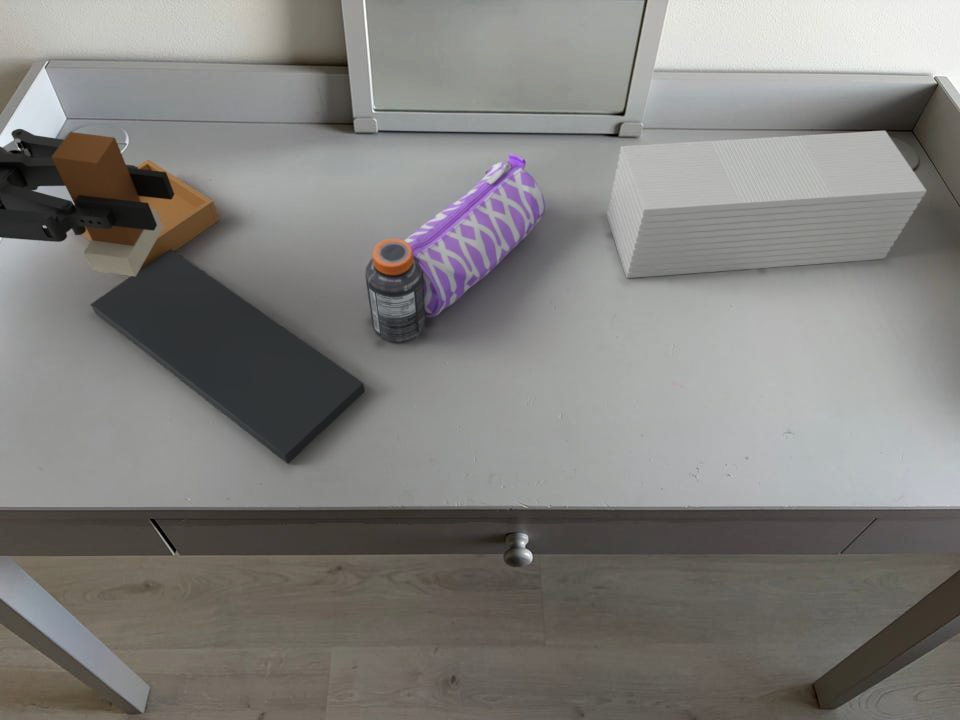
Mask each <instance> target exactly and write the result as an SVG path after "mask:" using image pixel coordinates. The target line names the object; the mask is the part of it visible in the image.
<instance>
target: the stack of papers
mask: <svg viewBox="0 0 960 720" xmlns="http://www.w3.org/2000/svg"><path fill="white" fill-rule="evenodd" d="M616 165H617V166H616V170H615V173H614V174H615V175H614V180H613V184H612V185H613V186H612V188H611V194H610V199H609V204H608V207H607V208H608V209H607V213H606V218H607V221H608V223H609V228H610V230H611V233H612V237H613V241H614V243H615V246H616V249H617V253H618V256H619V260H620V261H621V265H622V269H623V272H624V274H625V275H624V276H625V278H626V279H633V278H647V277H649V278H650V277H661V276H672V275H673V276H675V275H688V274H701V273H702V274H703V273H714V272H715V273H716V272H728V271H742V270H755V269H766V268H767V269H768V268H781V267H794V266H795V267H796V266H805V265H807V266H808V265H820V264H821V265H822V264H833V263H834V264H836V263H847V262H848V263H849V262H860V261H861V262H862V261H875V260H884V259H886V257H887V255H888V253H889V252H890V250H891V249H892V248H891V247H893V246H894V244H895V242H896V241H897V239H898V238H899V236H900V234H901V233H902V231H903V229H904V228H905V226H906V223H908V222H909V220H910V217H912V215H913V213H914V212H915V210H916V209H917V208H918V204H920V202H921V201H922V200H923V197H924V196H925V195H926V193H927V189H926V187H925V186H924V185H923V183H922V182H921V180H920V179H919V177H918V176H917V174H916V173H915V171H914V170H913V168H912V167H911V166H910V164H909V163H908V162H907V160H906V158H905V157H904V156H903V154H902V152H901V151H900V149H899V148H898V147H897V145H896V144H895V142H894V141H893V139H892V137H891V136H890V135H889V134H888V132H887V130H872V131H870V130H869V131H855V132H838V133H821V134H805V135H788V136H787V135H786V136H772V137H771V136H769V137H754V138H753V137H752V138H737V139H722V140H720V139H719V140H718V139H717V140H704V141H688V142H686V141H684V142H668V143H652V144H636V145H635V144H634V145H621V146H620V149H619V154H618V160H617V164H616Z"/></svg>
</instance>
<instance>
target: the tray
mask: <svg viewBox="0 0 960 720" xmlns="http://www.w3.org/2000/svg"><path fill="white" fill-rule="evenodd" d="M136 167H138V169H143V170H152V171H161V172H166V173H167V176H168V178H169V181H170V184H171V187H172V189H173V192H174V196H173V198H172V200H170V199H162V198H153V197H144V196H139V199H140V201H141V202H145V203H148V204H149V207H150V209H154V210H157V213H158V215H159V218H160V221H161V223H162V226H163V229H162V231H161V233H160V235H159V236H158V238H157V240H156V242H155V243H154V245H153V247H152V249H151V250H150V252H149V254H148V256H147V258H146V259H145V261H144V263H143V265H142V266H141V268H140V270H141V269H142V268H144V267H145V266H147V265H148V264H150V263H151V262H152V261H154V260H155V259H157V258H158V257H160V256H161V255H163V254H164V253H166V252H167V251H168V250H170V249H172V250H173V251H175V252H176V251H177V250H179V249H180V248H181V247H183V246H184V245H186V244H187V243H189V242H190V241H192V240H193V239H194V238H196V237H197V236H199V235H200V234H202V233H203V232H205V231H206V230H207V229H209V228H210V227H212V226H213V225H215V224H216V223H218V222H219V221H220V217H219V215H218V212H217V209H216V205H215V202H214V200H212V199H211V198H209V197H207V196H206V195H204V194H203V193H201V192H200V191H198V190H196V189H195V188H193V187H192V186H191V185H189V184H187V183H186V182H184V181H183V180H181V179H179V178H178V177H177V176H175V175H173V174H172V173H171V172H168V171H167V170H166V169H164V168H163V167H162V166H159V165H158V164H156V163H155V162H153V161H151V160H150V159H146V160H145V161H144V162H142V163H140V164H138V165H137V166H136ZM85 228H86V227H85ZM80 236H81V237H83V238H84V239H86V240H87V241H88V242H91V241H92V239H91V237H90V235H89V233H88V230H87V228H86V231H85V233H83V234H81V235H80Z"/></svg>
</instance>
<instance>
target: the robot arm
mask: <svg viewBox="0 0 960 720" xmlns="http://www.w3.org/2000/svg"><path fill="white" fill-rule="evenodd" d="M11 137H12V139H13V140H12V141H10V142H9V143H7V144H5V145H4V146H0V239H15V240H25V241H26V240H28V241H39V242H40V241H41V242H54V243H55V242H56V243H61V242H63V241H66V240H67V238H68V234H67V233H68V232H70V231H71V230H72V232H73V233H74V235H75V236H82V235H81V234H83V233H85V231H86V228H85V227H92V228H100V229H110V228H112V227H113V226H118V227H127V228H135V229H144V230H152V231H154V230H155V228H156V226H157V224H156V221H155V219H154V216H153V214H152V212H151V209H150V207H149V204H148V203H145V202H136V201H128V200H119V199H108V198H100V197H91V196H83V195H78V197H77V198H76V200H75V201H76V203H77V205H75V204H74V202H73V200H69V199H66V198H62V197H58V196H54V195H50V194H46V193H44V192H40V191H37V190H38V188H39V187H66V186H65V184H64V182H63V180H62V178H61V176H60V174H59V172H58V170H57V168H56V166H55V164H54V162H53V160H52V155H53V154H54V153H55V151H56V150H57V149H58V147H59V146H60V145H61V143H62V142H63V141H64V138H63V139H62V138H56V137H49V136H43V135H37V134H36V135H35V134H33V133H31V132H30V131H27V130H25V129H22V128H16V129H14V130H13V131H11ZM126 166H127V169H128V171H129V174H130V176H131V179H132V181H133V184H134V186H135V189H136V191H137V194H138V196H144V197H153V198H162V199H170V200H172V198H173V196H174V192H173V189H172V187H171V184H170V181H169V178H168V176H167V173H166V172H161V171H152V170H143V169H138V167H137V166H135V165H132V164H126Z"/></svg>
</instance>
